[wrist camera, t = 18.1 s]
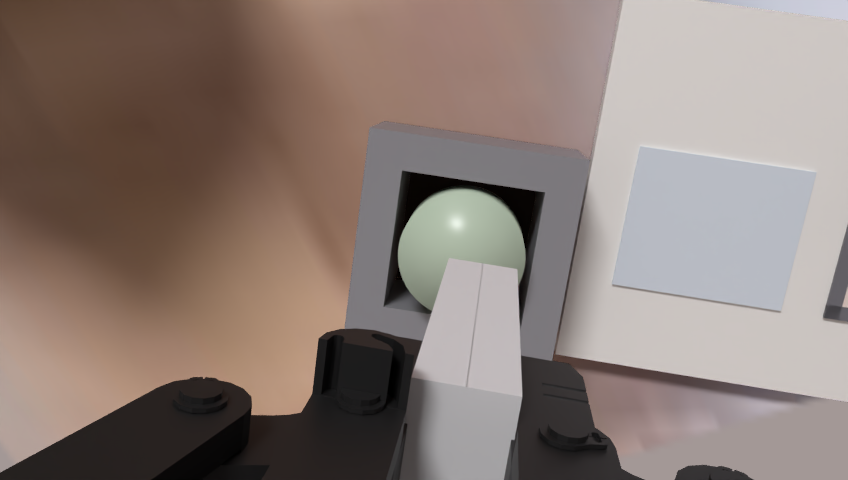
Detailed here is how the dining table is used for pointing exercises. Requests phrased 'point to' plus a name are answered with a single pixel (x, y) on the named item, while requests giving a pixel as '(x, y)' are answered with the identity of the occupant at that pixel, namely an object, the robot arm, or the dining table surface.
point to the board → (717, 200)
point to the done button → (457, 237)
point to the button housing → (473, 161)
